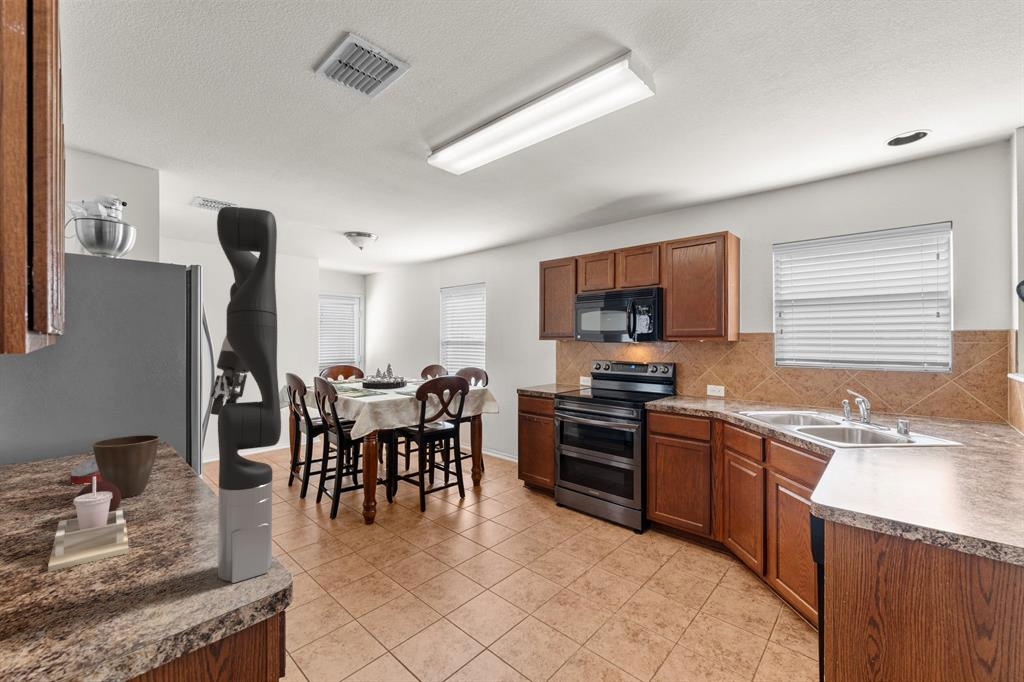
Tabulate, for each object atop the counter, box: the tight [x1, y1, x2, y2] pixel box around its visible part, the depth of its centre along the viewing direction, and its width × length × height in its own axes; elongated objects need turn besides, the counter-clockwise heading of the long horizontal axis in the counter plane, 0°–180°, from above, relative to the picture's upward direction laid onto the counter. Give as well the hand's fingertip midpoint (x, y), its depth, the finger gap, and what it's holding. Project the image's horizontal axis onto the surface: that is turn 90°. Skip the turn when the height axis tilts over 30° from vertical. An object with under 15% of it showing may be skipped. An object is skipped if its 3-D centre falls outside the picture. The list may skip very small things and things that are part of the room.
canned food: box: [69, 455, 102, 484], centre depth 146 cm, size 11×10×10 cm
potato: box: [74, 481, 122, 512], centre depth 115 cm, size 9×12×9 cm
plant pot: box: [92, 434, 161, 499], centre depth 132 cm, size 15×15×16 cm
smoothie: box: [73, 477, 113, 530], centre depth 100 cm, size 6×6×14 cm
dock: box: [47, 509, 130, 573], centre depth 99 cm, size 20×12×5 cm, turn 42°
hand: (221, 414), depth 115 cm, fingers open, 8 cm apart
